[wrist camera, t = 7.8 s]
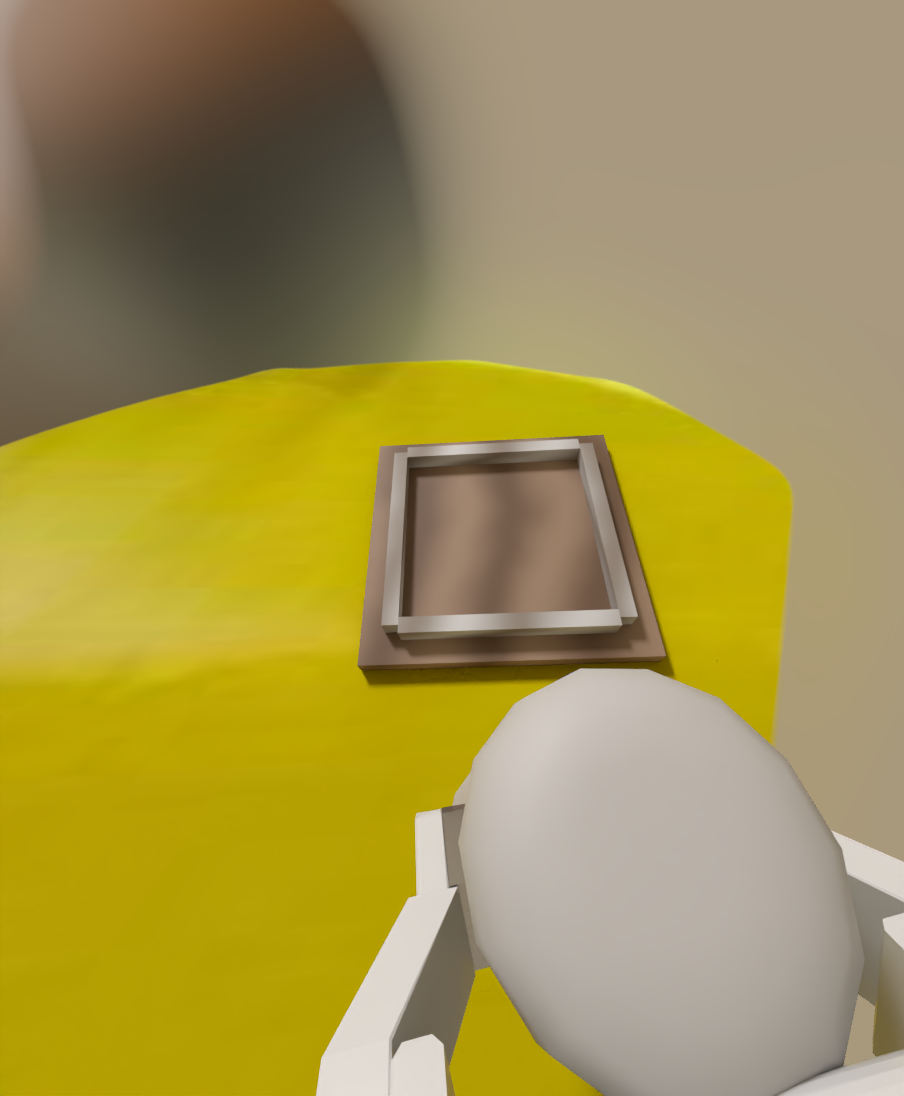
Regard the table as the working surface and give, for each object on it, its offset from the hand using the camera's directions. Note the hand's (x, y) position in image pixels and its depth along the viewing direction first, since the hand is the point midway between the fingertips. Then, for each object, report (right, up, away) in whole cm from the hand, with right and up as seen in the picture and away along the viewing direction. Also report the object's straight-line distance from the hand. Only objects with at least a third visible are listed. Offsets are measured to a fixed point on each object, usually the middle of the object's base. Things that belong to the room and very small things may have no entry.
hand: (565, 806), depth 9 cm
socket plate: (+1, +6, +22) cm, 23 cm away
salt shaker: (+1, -5, +7) cm, 8 cm away
